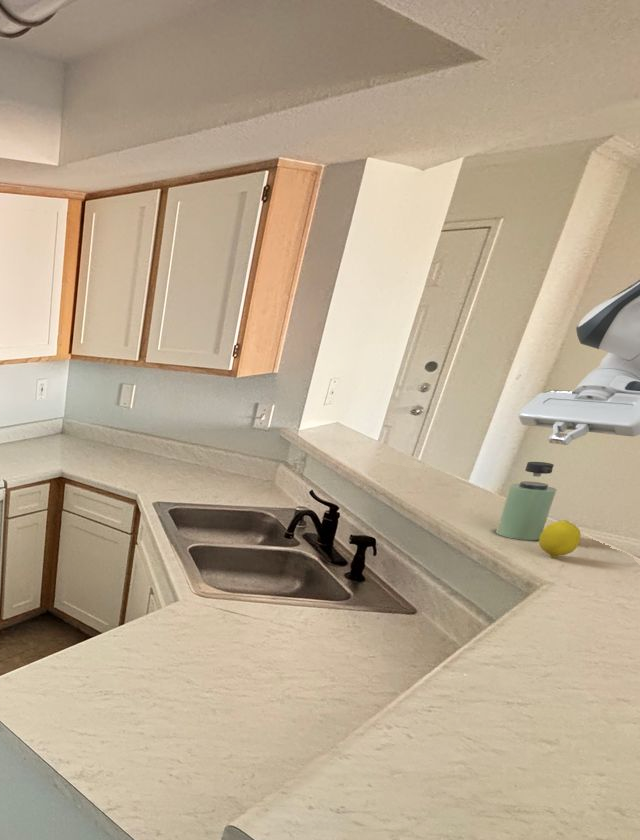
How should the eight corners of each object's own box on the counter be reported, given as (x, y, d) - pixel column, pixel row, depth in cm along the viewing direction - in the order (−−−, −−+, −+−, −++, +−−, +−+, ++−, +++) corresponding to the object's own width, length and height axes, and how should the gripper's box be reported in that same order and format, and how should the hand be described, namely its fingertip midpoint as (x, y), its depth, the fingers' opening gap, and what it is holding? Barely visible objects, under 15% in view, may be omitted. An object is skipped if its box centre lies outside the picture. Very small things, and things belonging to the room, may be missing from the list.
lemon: (579, 563, 116) (593, 525, 114) (544, 561, 118) (557, 523, 115) (561, 553, 121) (574, 517, 119) (527, 551, 123) (539, 515, 120)
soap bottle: (532, 532, 134) (549, 481, 130) (546, 542, 128) (564, 488, 124) (490, 528, 137) (506, 478, 133) (502, 538, 131) (518, 486, 127)
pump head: (545, 474, 129) (549, 462, 128) (559, 481, 123) (563, 468, 122) (520, 473, 130) (524, 461, 129) (533, 480, 125) (537, 467, 124)
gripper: (539, 380, 134) (496, 426, 134) (668, 386, 115) (617, 439, 116) (547, 398, 136) (504, 444, 137) (674, 407, 117) (624, 460, 118)
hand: (557, 442), depth 126 cm, fingers closed
